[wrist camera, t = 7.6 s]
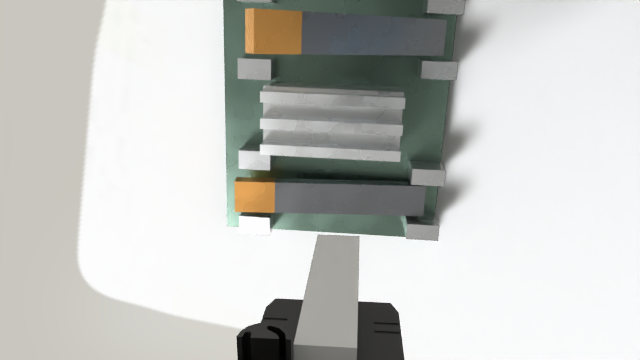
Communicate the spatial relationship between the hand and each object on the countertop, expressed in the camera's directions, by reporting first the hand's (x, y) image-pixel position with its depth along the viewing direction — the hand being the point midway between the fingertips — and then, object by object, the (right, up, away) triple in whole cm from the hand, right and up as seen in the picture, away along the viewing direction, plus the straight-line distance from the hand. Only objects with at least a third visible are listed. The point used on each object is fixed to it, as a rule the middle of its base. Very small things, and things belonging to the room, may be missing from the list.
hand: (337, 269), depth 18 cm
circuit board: (0, +8, +14) cm, 16 cm away
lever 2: (0, +2, +14) cm, 14 cm away
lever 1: (+1, +11, +8) cm, 14 cm away
